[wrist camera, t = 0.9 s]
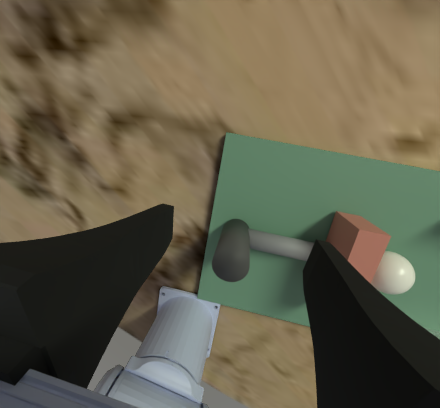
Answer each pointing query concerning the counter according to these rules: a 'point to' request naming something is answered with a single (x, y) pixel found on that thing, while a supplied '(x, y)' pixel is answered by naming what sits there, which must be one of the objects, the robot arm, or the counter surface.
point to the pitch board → (320, 221)
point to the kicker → (300, 246)
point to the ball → (393, 274)
